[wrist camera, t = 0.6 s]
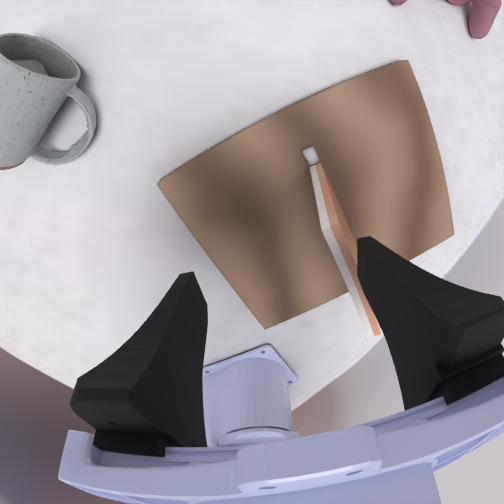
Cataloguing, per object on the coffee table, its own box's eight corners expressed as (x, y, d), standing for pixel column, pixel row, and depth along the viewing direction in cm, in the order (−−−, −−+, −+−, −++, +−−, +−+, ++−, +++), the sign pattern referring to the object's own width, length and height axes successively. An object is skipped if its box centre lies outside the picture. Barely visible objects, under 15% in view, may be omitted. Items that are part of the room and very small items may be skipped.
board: (264, 320, 28) (265, 329, 27) (160, 179, 20) (156, 184, 19) (447, 228, 23) (454, 234, 22) (399, 60, 16) (407, 60, 15)
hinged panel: (371, 347, 16) (383, 343, 16) (311, 208, 12) (329, 201, 11) (352, 261, 23) (361, 258, 23) (301, 149, 19) (312, 144, 18)
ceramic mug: (-3, 115, 16) (-63, 138, 9) (42, 33, 13) (-22, 29, 6) (71, 181, 20) (17, 225, 13) (126, 98, 17) (74, 109, 11)
